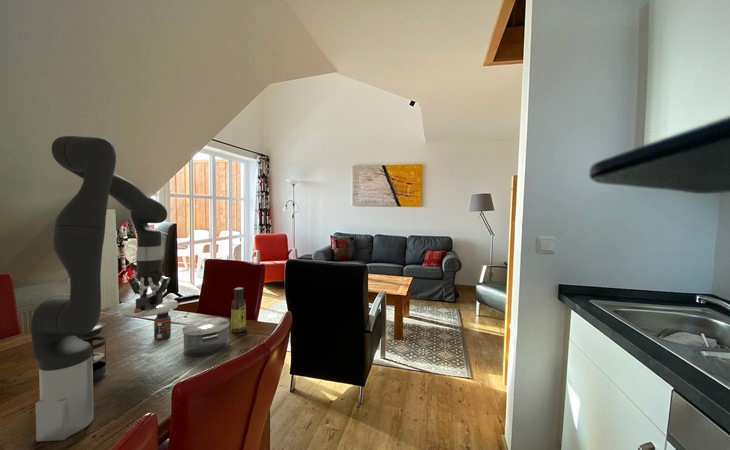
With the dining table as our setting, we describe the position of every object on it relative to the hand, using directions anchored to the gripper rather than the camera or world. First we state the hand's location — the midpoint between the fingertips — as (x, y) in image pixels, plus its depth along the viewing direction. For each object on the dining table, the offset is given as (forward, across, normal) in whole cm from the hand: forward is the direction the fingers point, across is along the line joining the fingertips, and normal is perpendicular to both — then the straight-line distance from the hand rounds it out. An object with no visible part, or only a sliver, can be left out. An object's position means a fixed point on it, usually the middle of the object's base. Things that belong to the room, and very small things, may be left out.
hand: (149, 304), depth 103 cm
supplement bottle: (+21, -7, +19) cm, 29 cm away
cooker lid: (+2, 0, 0) cm, 2 cm away
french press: (+21, -13, -11) cm, 27 cm away
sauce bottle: (+21, +23, +25) cm, 40 cm away
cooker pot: (+21, +16, +9) cm, 28 cm away
